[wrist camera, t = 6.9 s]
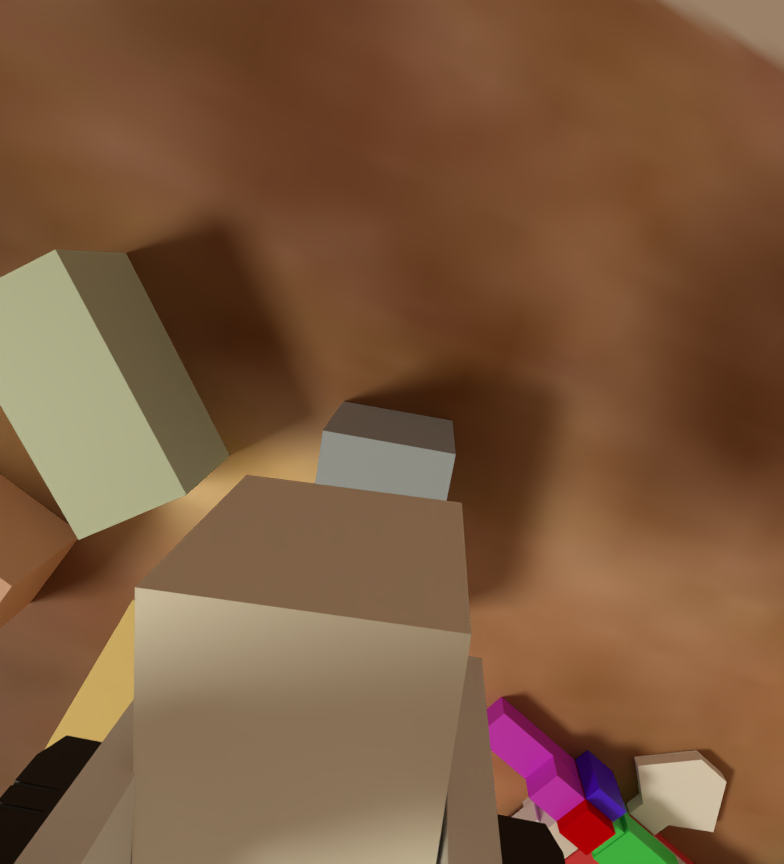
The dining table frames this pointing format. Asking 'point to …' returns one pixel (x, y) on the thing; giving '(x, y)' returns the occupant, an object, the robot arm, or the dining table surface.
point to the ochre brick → (104, 688)
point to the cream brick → (300, 679)
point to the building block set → (606, 795)
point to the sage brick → (99, 390)
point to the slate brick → (387, 452)
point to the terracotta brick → (27, 547)
